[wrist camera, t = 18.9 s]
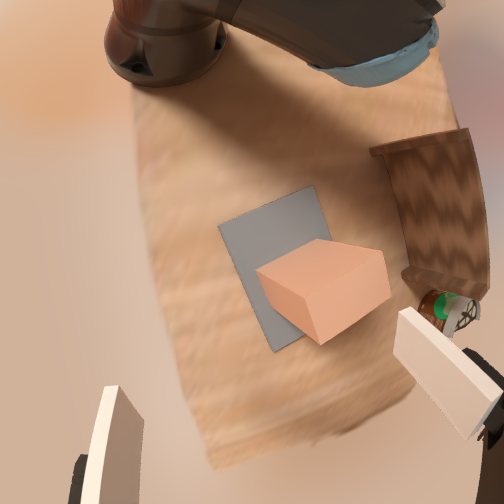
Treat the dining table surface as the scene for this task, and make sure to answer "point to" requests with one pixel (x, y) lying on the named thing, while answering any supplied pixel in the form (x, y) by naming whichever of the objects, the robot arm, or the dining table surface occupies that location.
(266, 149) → the dining table surface
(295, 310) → the carton
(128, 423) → the robot arm
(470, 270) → the brown wooden board
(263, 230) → the slate mat
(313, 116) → the dining table surface
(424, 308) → the food container
